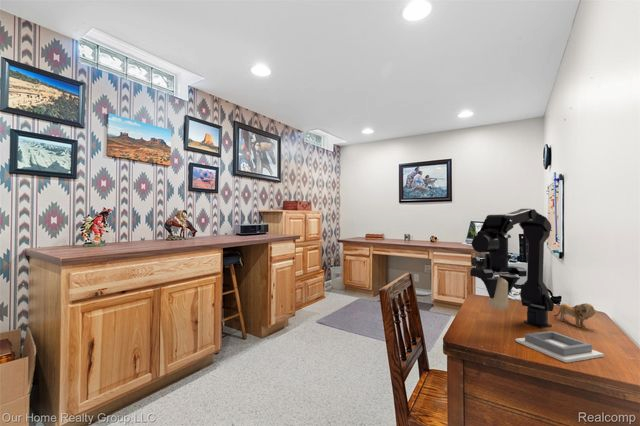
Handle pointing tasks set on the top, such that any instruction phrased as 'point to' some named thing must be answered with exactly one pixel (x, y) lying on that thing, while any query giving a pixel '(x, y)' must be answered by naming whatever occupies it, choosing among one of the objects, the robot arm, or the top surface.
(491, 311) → the top surface
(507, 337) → the top surface
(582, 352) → the candle tray
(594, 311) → the lion figurine
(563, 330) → the top surface
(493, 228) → the robot arm
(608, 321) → the top surface
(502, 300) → the candle
